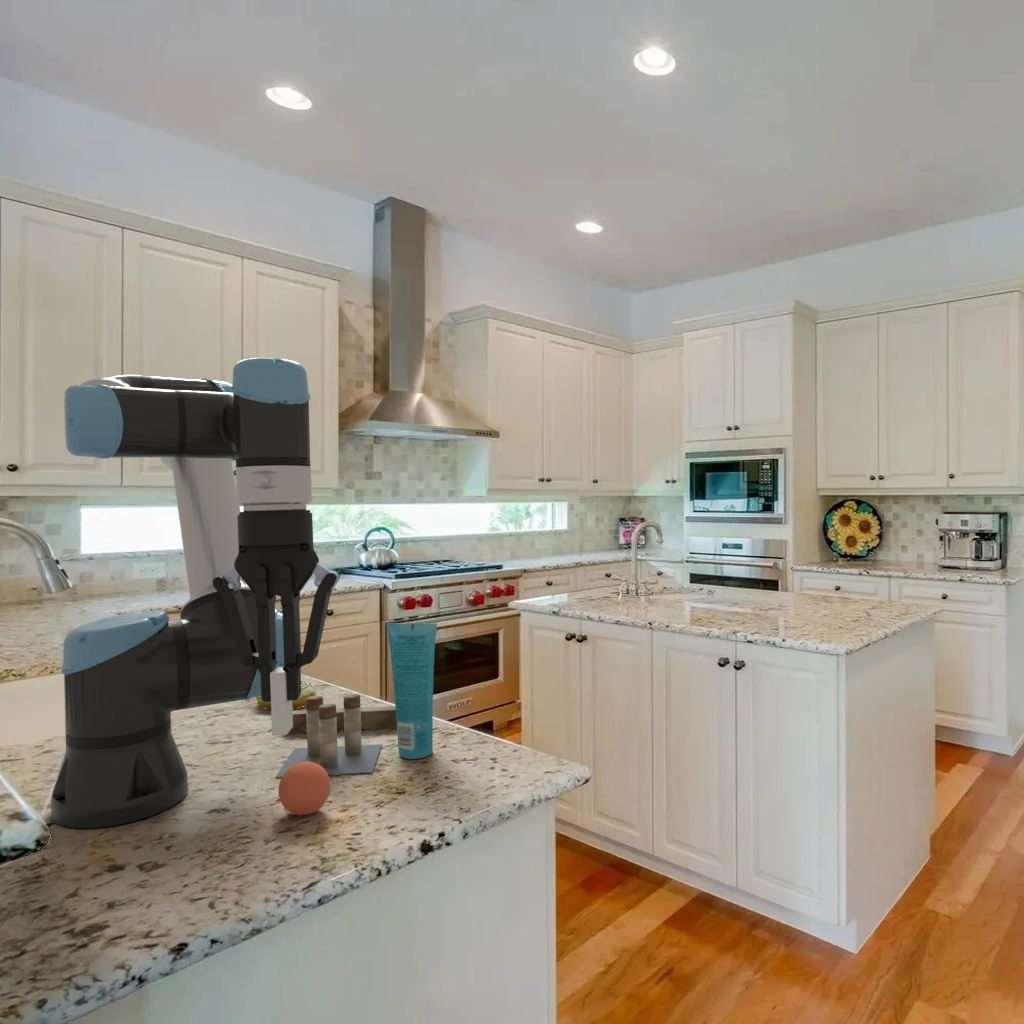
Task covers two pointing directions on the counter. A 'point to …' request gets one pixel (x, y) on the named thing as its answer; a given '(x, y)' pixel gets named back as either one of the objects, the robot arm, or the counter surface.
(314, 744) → the peg
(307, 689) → the decorated donut
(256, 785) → the counter surface
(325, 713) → the front pin
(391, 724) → the back rail
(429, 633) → the tube
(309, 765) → the ball
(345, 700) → the rear pin left
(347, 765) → the plate
